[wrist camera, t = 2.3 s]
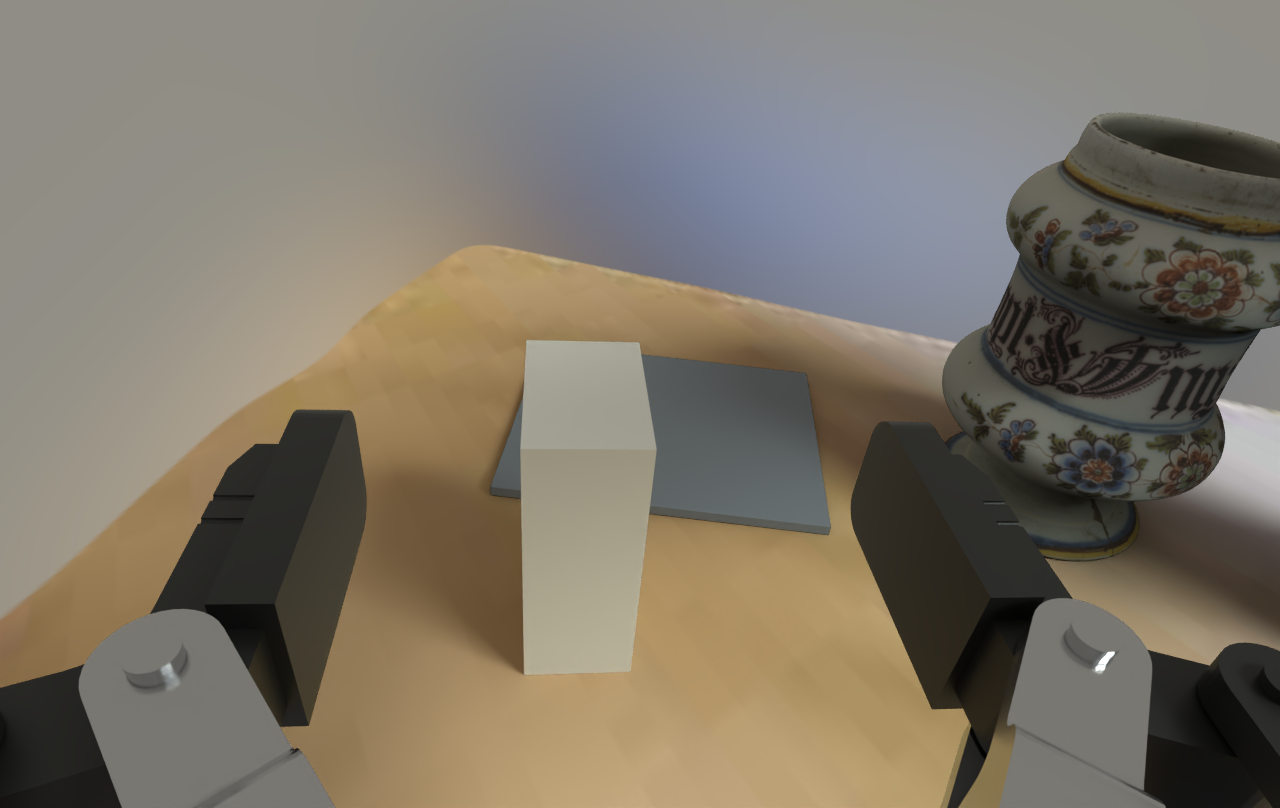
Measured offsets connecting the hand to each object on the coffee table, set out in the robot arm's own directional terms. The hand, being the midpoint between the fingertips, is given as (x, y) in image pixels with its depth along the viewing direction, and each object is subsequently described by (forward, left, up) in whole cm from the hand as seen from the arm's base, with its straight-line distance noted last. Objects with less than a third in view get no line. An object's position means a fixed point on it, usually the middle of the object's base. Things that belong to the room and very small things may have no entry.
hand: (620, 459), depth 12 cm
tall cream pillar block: (+2, -11, -18) cm, 21 cm away
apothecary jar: (-20, -22, -18) cm, 35 cm away
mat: (-1, -24, -18) cm, 30 cm away
